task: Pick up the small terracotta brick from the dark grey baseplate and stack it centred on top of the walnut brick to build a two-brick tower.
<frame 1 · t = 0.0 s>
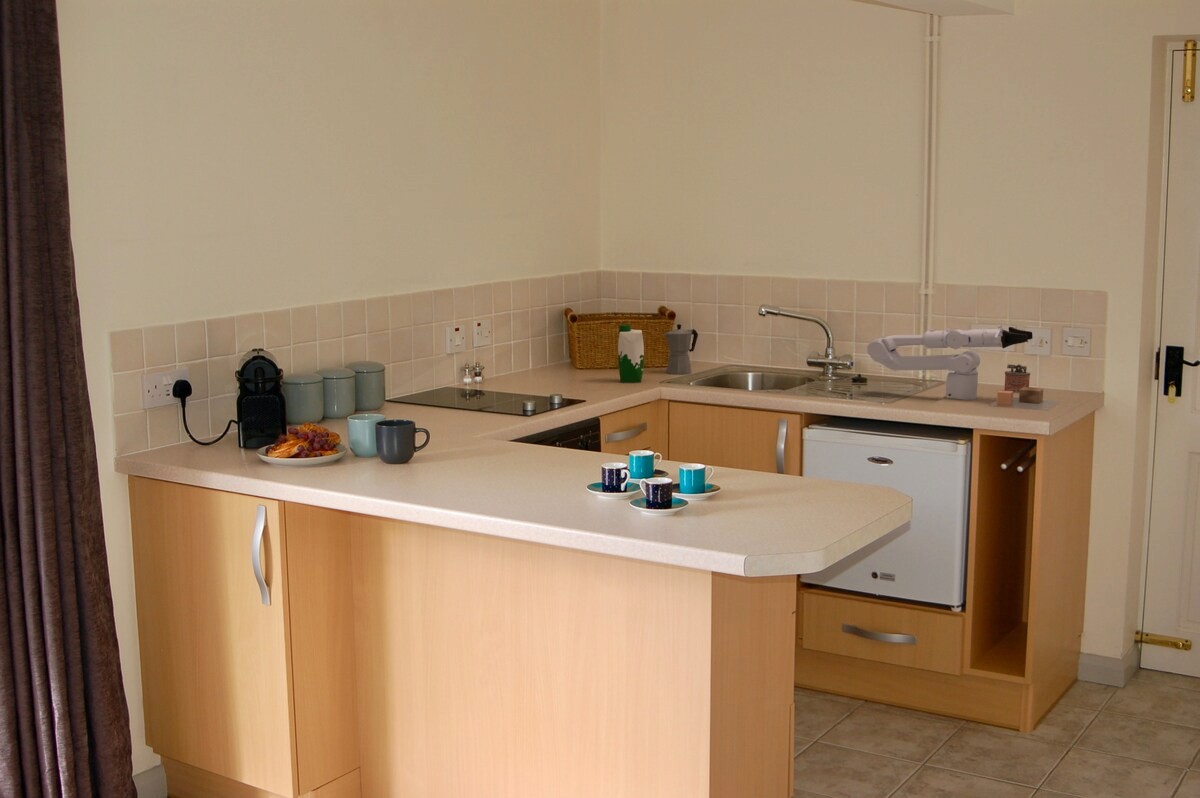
hand: (1029, 336, 399), 22 cm above the countertop, tool horizontal, fingers open, 7 cm apart
base brick: (1030, 401, 404), point 1 cm above the countertop, touching baseplate
coffeepot: (681, 373, 474), on the countertop
top brick: (1004, 404, 399), point 1 cm above the countertop, touching baseplate
milk carton: (631, 381, 455), on the countertop
baseplate: (1024, 406, 401), on the countertop
lighter: (1016, 395, 422), on the countertop
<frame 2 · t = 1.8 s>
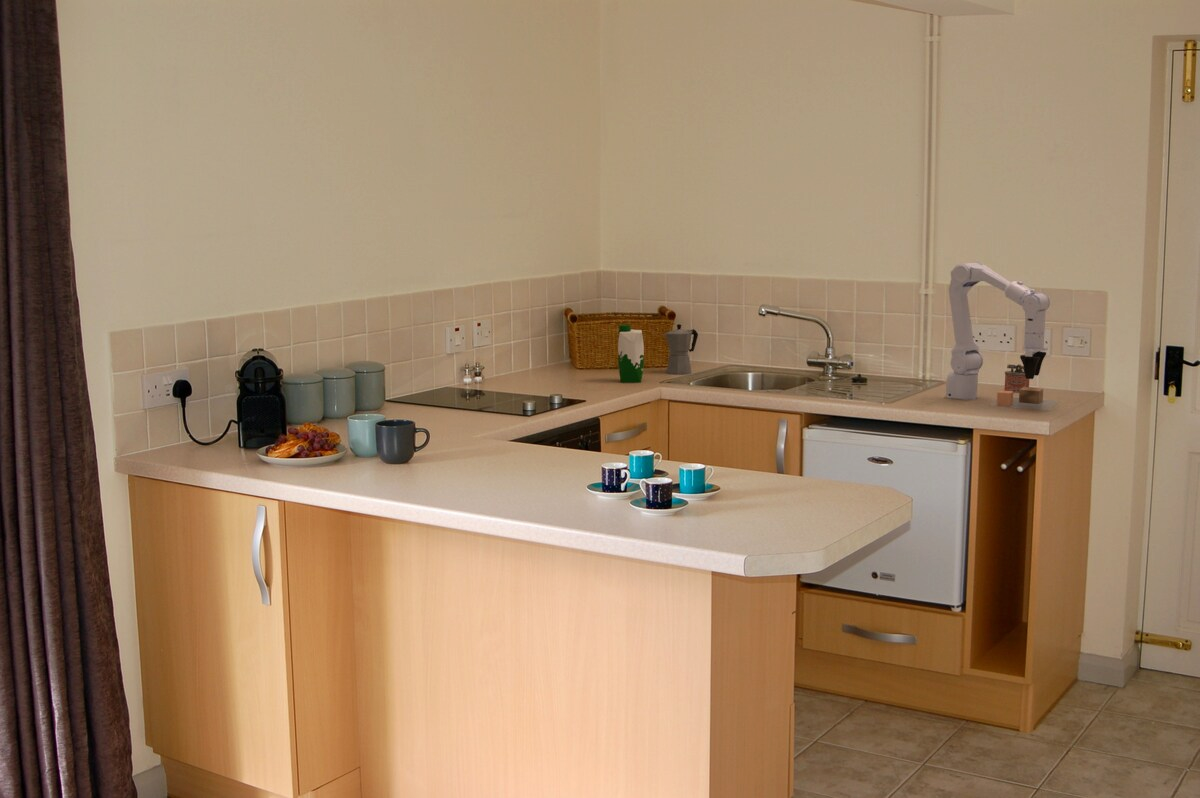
hand: (1032, 377, 393), 10 cm above the countertop, tool pointing down, fingers open, 7 cm apart
nothing on the countertop moved.
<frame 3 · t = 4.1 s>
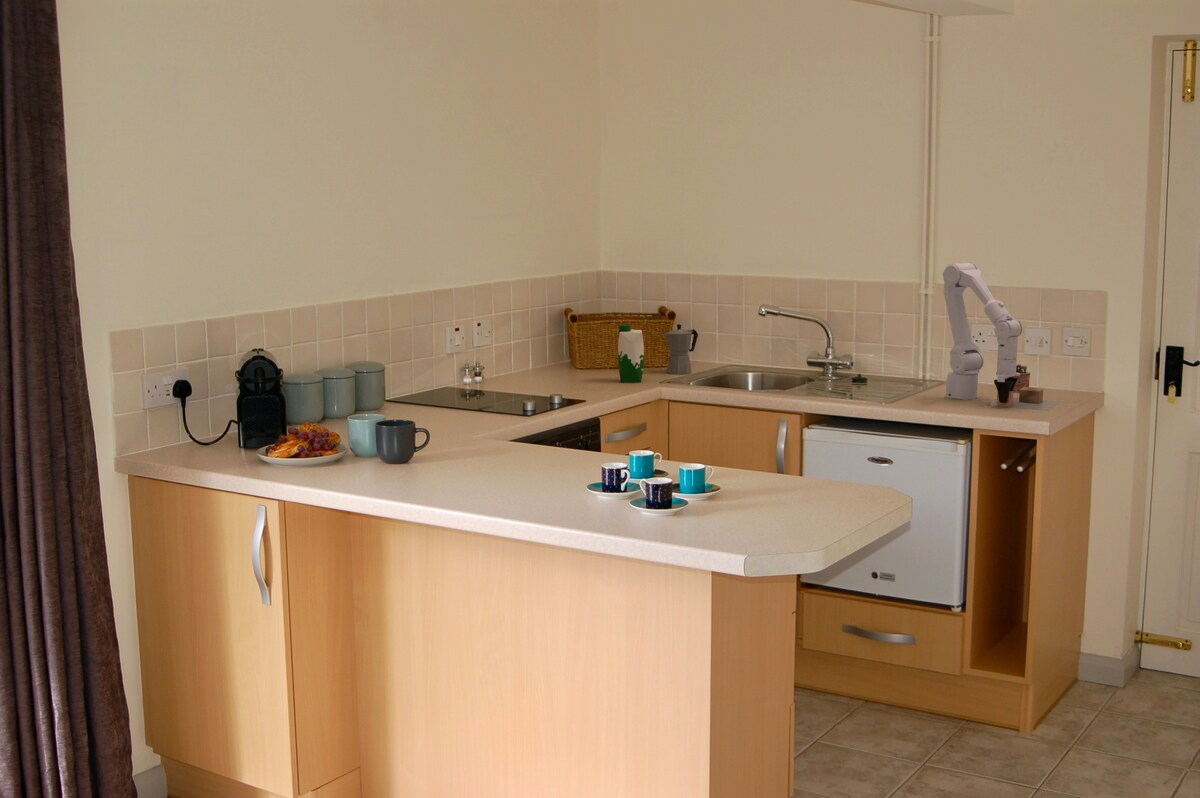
hand: (1004, 401, 399), 2 cm above the countertop, tool pointing down, fingers closed on top brick, 4 cm apart
top brick: (1004, 404, 399), point 1 cm above the countertop, touching baseplate, gripper
everything else where it was.
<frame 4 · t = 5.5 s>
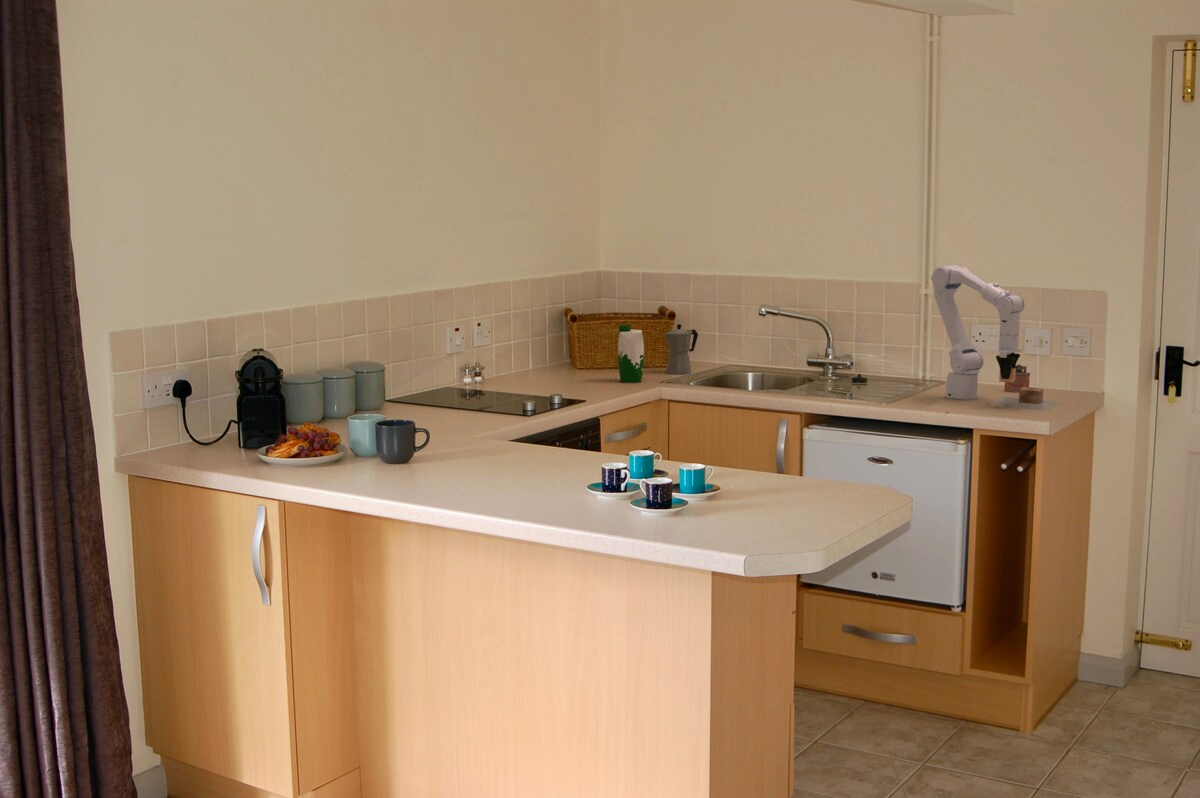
hand: (1007, 377, 398), 9 cm above the countertop, tool pointing down, fingers closed on top brick, 4 cm apart
top brick: (1007, 381, 398), point 8 cm above the countertop, touching gripper
everything else where it was.
when the fingers open (7 cm above the countertop, at t = 7.0 s): top brick stays where it is, resting on base brick.
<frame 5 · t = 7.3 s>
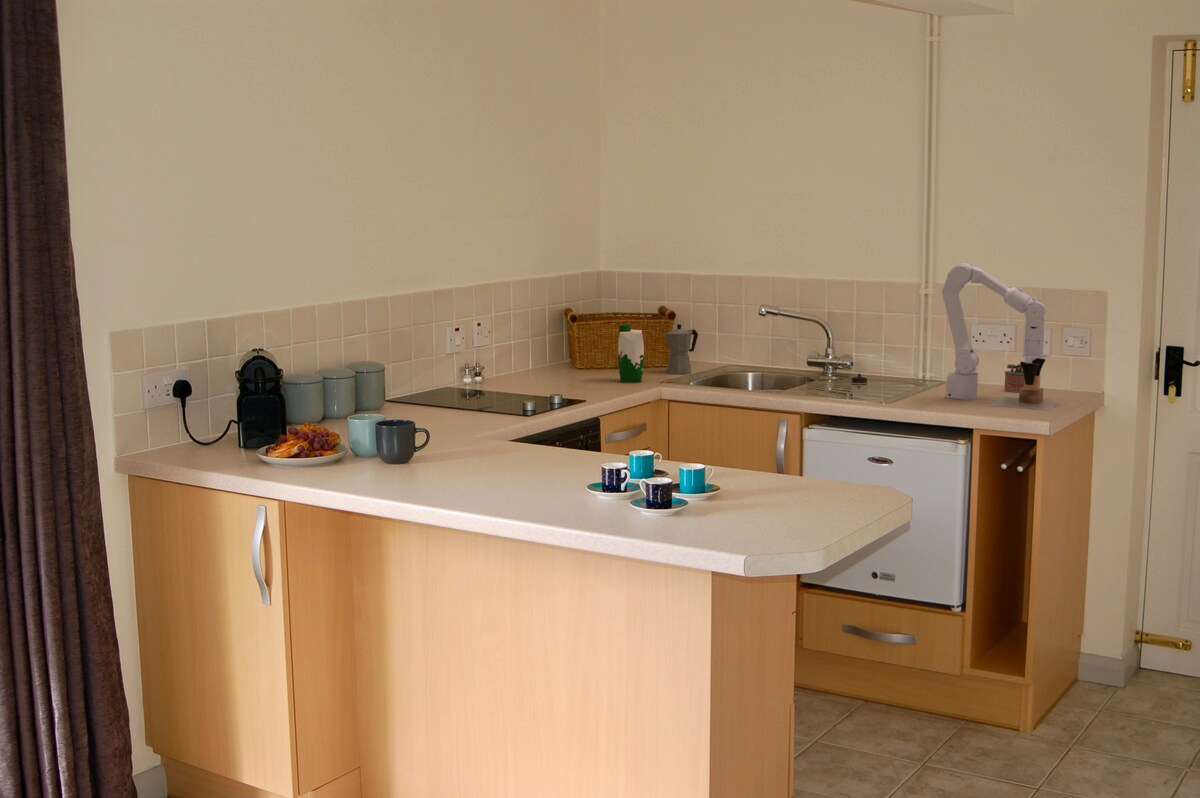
hand: (1031, 383, 403), 7 cm above the countertop, tool pointing down, fingers open, 7 cm apart
base brick: (1030, 401, 404), point 1 cm above the countertop, touching baseplate, top brick
top brick: (1031, 389, 403), point 5 cm above the countertop, touching base brick
everything else where it was.
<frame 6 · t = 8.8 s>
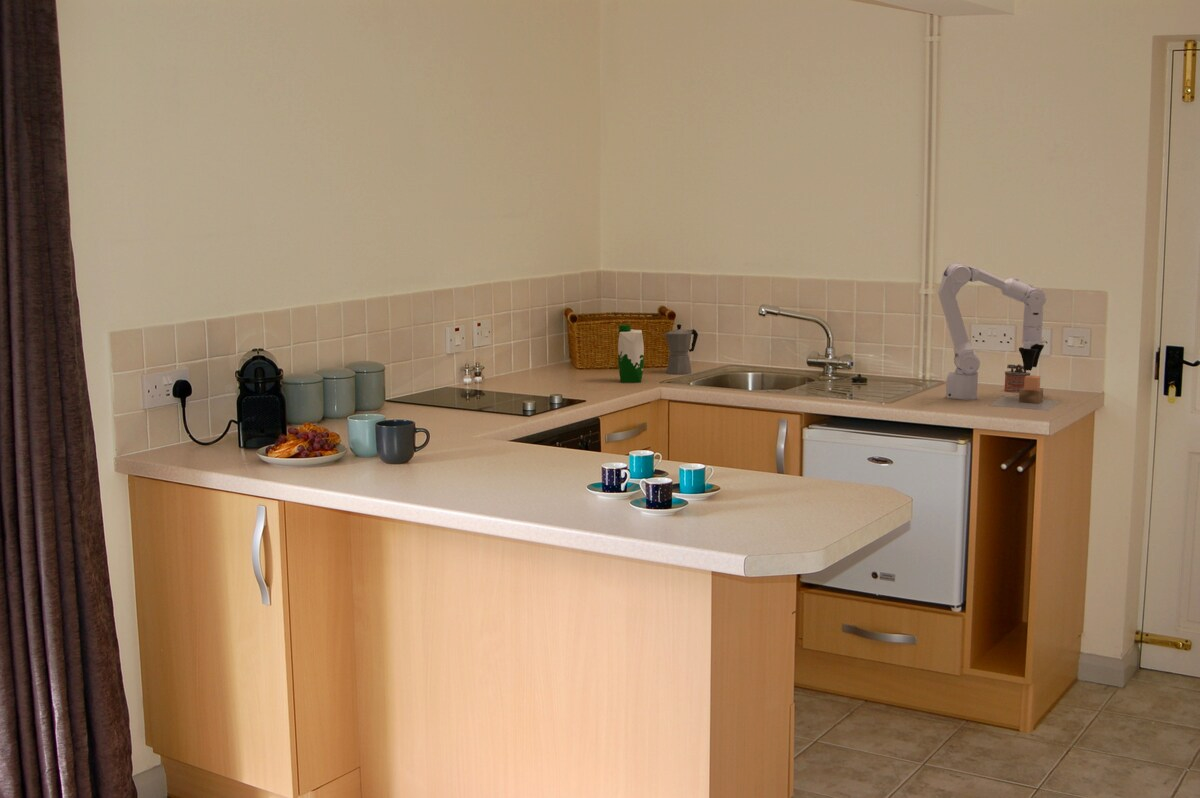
hand: (1030, 368, 409), 10 cm above the countertop, tool pointing down, fingers open, 7 cm apart
nothing on the countertop moved.
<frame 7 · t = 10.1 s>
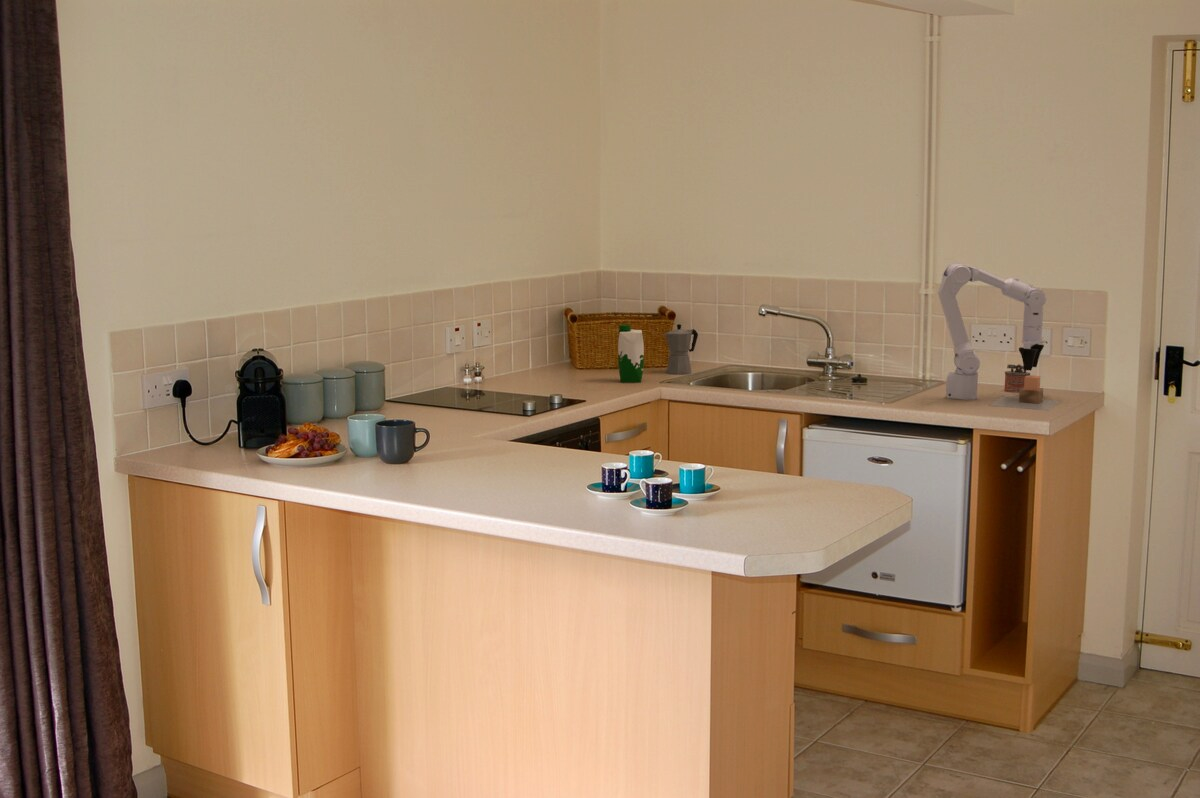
hand: (1030, 368, 409), 10 cm above the countertop, tool pointing down, fingers open, 7 cm apart
nothing on the countertop moved.
at the end: top brick 0.1 cm off-centre on the base brick, point 4.0 cm above the base brick's base; top brick tilted 0°; the gripper is holding nothing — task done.
